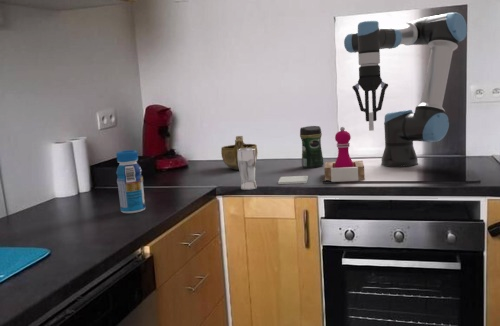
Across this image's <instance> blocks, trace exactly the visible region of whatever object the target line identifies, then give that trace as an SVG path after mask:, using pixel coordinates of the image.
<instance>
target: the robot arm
mask: <svg viewBox="0 0 500 326" xmlns="http://www.w3.org/2000/svg"><path fill="white" fill-rule="evenodd" d="M467 32H468V27H467V23H466V19H465V18H464V16H463V15H462V14H461V13H459V12H447V13H442V14H439V15H432V16H425V17H422V18H419V19H416V20H412V21H409V22H404V23H403V24H401V25H398V26H392V27H391V26H389V27H380V22H379V21H378V20H365V21H361V22H359V23H358V24H357V32H352V33H349V34H346V36H345V38H344V40H343V43H344V44H343V45H344V49H345V51H346V52H348V53H349V54H352V53H355V54H356V53H358V57H357V58H358V65H359V67H358V81H357V83H355V84H354V85H353V86H352V90H353V91H354V92H355V96H356V99H357V103H358V107H359V109H360V111H361V112H364V113H365V114H364V115H365V122H368V129H369V130H368V131H373V132H374V128H375V127H374V122H377V112H379V111H381V110H382V108H383V107H382V106H383V103H384V98H385V94H386V90H387V88H388V87H389V84H388V83H386V82H384V81H383V79H382V77H381V65H380V63H381V51H380V50H384V49H389V50H390V49H391V50H392V49H396V48H398V47H399V46H401V45H403V46H413V45H414V46H416V45H417V46H420V45H422V46H426V45H428V47H429V48H430V52H429V58H428V64H427V68H426V73H425V78H424V84H423V88H422V93H421V99H420V103H419V104H418V105H416V106H415V109H414V112H413V110H412V109H406V110H400V111H392V112H388V113H386V114H384V121H383V122H384V123H383V127H384V141H385V142H384V143H385V144H384V149H383V150H384V151H383V154H382V157H381V165H382V166H384V167H393V168H394V167H396V168H397V167H400V168H401V167H403V168H404V167H412V166H416V165H418V164H419V163H418V162H419V161H418V156H417V154H416V153H417V152H416V151H415V148H414V142H426V143H436V142H439V141H441V140H442V139H444V138H445V136H446V135H447V133H448V131H449V127H450V122H449V120H450V119H449V117H448V115H447V114H446V110H445V109H444V108H443V103H444V98H445V94H446V89H447V84H448V78H449V73H450V68H451V63H452V57H453V53H454V51H455V50H457V49H458V47H459V43H460V42H462V41H464V40H465V39H466V37H467ZM379 87H381V91H380V94H379V99H378V103H377V90H378V88H379ZM360 89H362V90H363V91H364V104H363V102H362V101H363V100H362V98H361V94H360V91H359V90H360ZM369 92H371V100H372V101H371V103H372V109H371V110H372V112H370V104H369V103H370V101H369V100H370V99H369V98H370V97H369V96H370V94H369ZM363 105H365V107H364V106H363Z"/></svg>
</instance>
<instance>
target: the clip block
mask: <svg viewBox="0 0 500 326" xmlns="http://www.w3.org/2000/svg"><path fill="white" fill-rule="evenodd" d="M335 162H336V161H324V181H326V180H331V168H335ZM352 162H353V167H358V179H359V180H365V179H366V178H365V177H366V176H365V164H364V162H363V160H352ZM326 182H327V181H326Z"/></svg>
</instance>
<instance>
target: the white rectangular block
mask: <svg viewBox="0 0 500 326" xmlns="http://www.w3.org/2000/svg"><path fill="white" fill-rule="evenodd" d="M331 182H332V183H336V182H340V183H341V182H359V180H358V167H341V168H331Z"/></svg>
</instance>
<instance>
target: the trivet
mask: <svg viewBox="0 0 500 326" xmlns="http://www.w3.org/2000/svg"><path fill="white" fill-rule="evenodd" d="M308 179H309V176H308V175H294V176H293V175H292V176H280V177H279V179H278V182H277V185H292V184H297V185H298V184H307V182H308Z"/></svg>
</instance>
